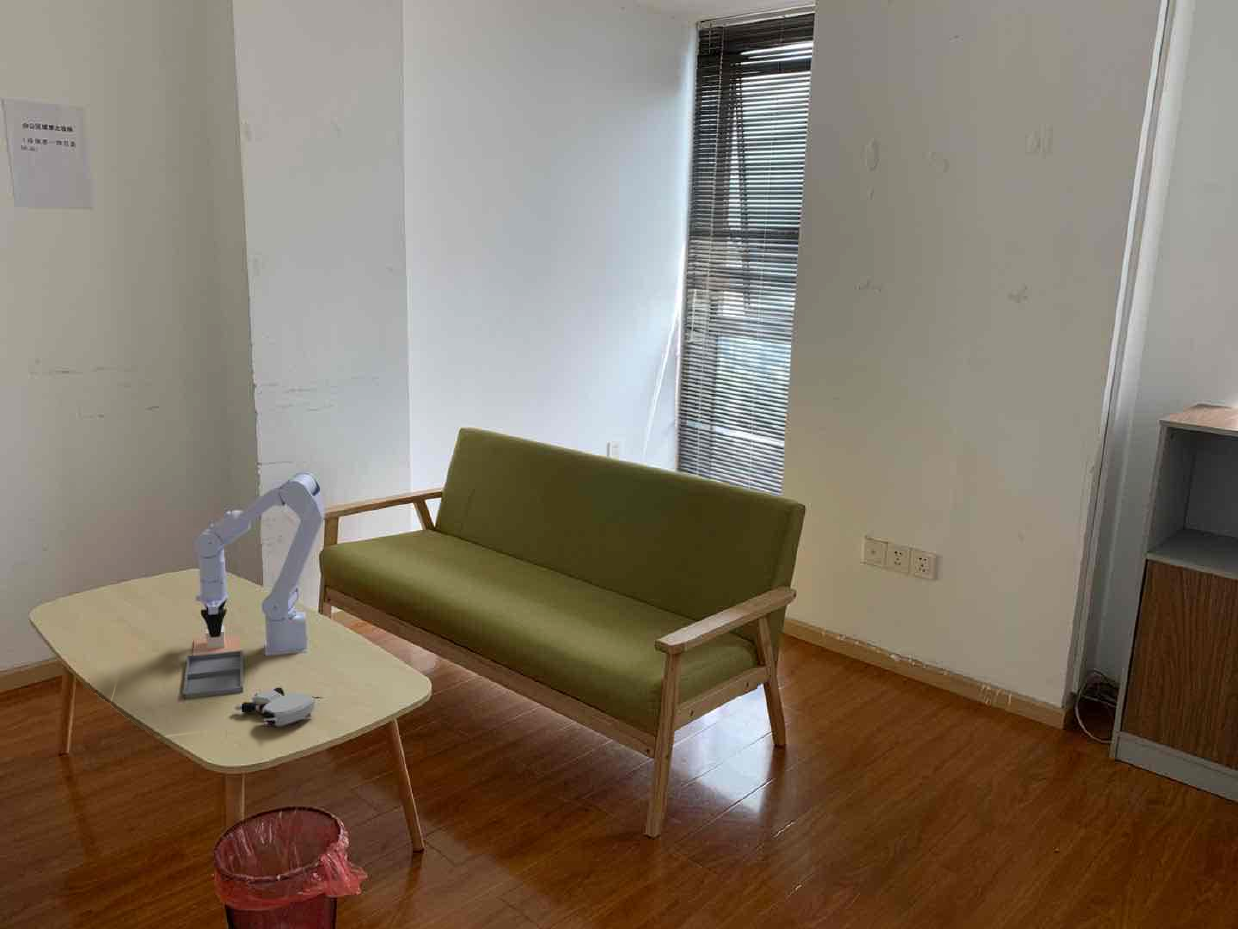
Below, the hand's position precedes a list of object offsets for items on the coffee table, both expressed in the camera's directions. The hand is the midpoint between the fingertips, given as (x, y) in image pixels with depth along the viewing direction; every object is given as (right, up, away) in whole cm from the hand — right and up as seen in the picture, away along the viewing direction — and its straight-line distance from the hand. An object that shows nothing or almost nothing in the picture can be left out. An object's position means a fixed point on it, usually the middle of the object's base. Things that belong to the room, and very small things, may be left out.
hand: (215, 631), depth 230 cm
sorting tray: (+6, -8, -14) cm, 17 cm away
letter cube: (0, -3, +1) cm, 4 cm away
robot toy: (+26, -13, -29) cm, 41 cm away
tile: (0, -4, +1) cm, 4 cm away
